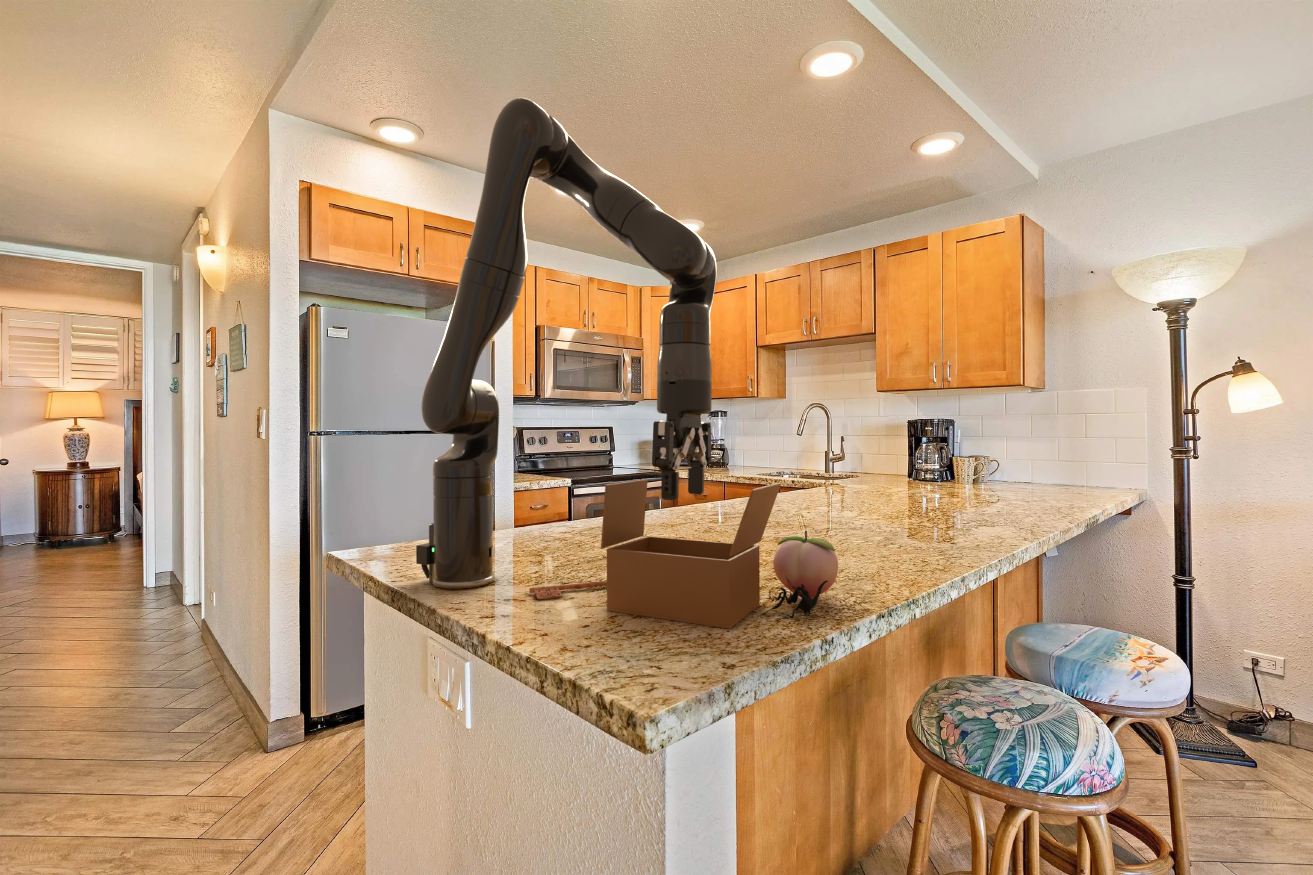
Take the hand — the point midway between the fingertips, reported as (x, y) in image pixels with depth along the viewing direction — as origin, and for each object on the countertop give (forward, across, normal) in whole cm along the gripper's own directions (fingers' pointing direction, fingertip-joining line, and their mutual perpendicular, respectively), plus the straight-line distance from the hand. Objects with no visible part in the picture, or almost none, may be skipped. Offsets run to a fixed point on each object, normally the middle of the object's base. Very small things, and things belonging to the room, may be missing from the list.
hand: (683, 496), depth 85 cm
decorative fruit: (+15, -12, +14) cm, 24 cm away
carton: (+15, 0, 0) cm, 15 cm away
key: (+16, -1, -18) cm, 24 cm away
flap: (+2, 0, +10) cm, 11 cm away
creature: (+15, -4, +14) cm, 21 cm away
